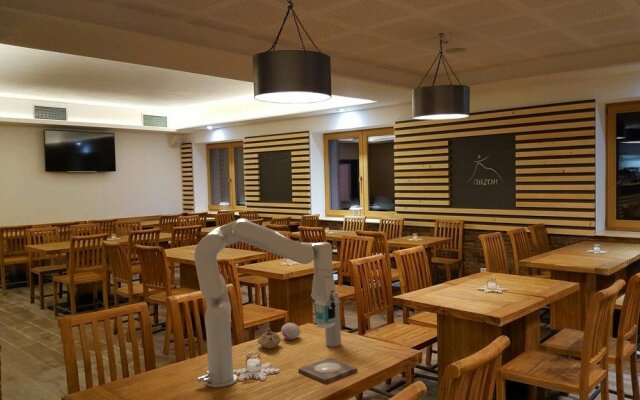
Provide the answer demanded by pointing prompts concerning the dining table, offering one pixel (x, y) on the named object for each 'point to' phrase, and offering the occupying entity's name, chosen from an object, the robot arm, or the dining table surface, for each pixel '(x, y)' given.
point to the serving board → (327, 370)
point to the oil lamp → (269, 339)
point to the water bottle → (334, 329)
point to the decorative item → (290, 331)
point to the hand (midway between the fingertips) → (325, 315)
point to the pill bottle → (323, 315)
